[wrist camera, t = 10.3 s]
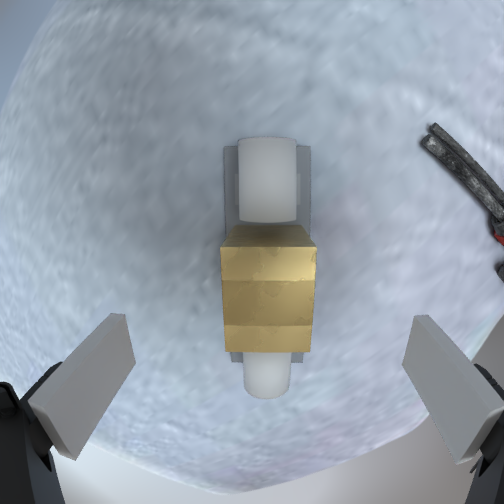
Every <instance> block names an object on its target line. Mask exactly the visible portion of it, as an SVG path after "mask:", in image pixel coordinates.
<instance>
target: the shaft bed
mask: <svg viewBox="0 0 504 504" xmlns="http://www.w3.org/2000/svg"><path fill="white" fill-rule="evenodd" d="M224 172H225V218H226V238H227V236H228V235H229V233H230V232H231V230H232V229H233V227H234V226H235V225H302V226H303V228H304V229H305V231H306V232H307V234H308V235H309V237H310V205H311V154H310V146H296V140H295V139H291V138H283V137H253V138H245V139H240V140H238V146H231V147H224ZM303 354H304V352H288V353H259V352H231V361H232V362H241V363H243V369H244V388H245V390H246V392H247V393H248V394H250V395H251V396H253V397H256V398H259V399H274V398H278V397H280V396H282V395H284V394H285V393H286V392H287V391H288V389H289V385H290V370H291V363H303Z"/></svg>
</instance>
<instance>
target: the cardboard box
mask: <svg viewBox="0 0 504 504" xmlns="http://www.w3.org/2000/svg"><path fill="white" fill-rule="evenodd" d="M316 252H317V247H316V245H315V244H314V242H313V241H312V240H311V238H310V237H309V235H308V234H307V232H306V231H305V229H304V228H303V226H302V225H235V226H234V227H233V229H232V230H231V232H230V233H229V235H228V236H227V238H226V239H225V241H224V242H223V244H222V245H221V247H220V253H221V277H222V298H223V317H224V334H225V350H226V352H259V353H288V352H310V345H311V333H312V321H313V307H314V291H315V274H316Z"/></svg>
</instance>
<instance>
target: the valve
mask: <svg viewBox="0 0 504 504" xmlns="http://www.w3.org/2000/svg"><path fill="white" fill-rule="evenodd" d="M430 130H431V131H432V132H433V133H435V134H436V135H437V136H438V137H439V138H440V139H441V140H442V141H443V142H445V143H446V144H447V145H448V146H449V147H450V148H451V149H452V150H453V151H454V152H455V153H456V154H457V155H458V156H459V157H460V158H461V159H462V160H463V161H464V162H465V163H466V164H467V165H468V166H469V167H470V168H471V169H472V170H473V171H474V172H475V173H476V174H477V175H478V176H479V177H480V178H481V179H482V180H483V182H484V183H485V184H486V185H487V186H488V187H489V188H490V189H491V191H492V192H493V193H494V194H495V195H496V196H497V197H498V199H499V200H500V201H501V202H502V204H499V203H498V202H497V200H496V199H495V198H494V197H493V196H492V195H491V193H490V192H489V191H488V190H487V189H486V188H485V187H484V186H483V185H482V183H481V182H480V181H479V180H478V179H477V178H476V177H475V176H474V175H473V174H472V173H471V172H470V171H469V170H468V169H467V168H466V167H465V166H464V165H463V164H462V163H461V162H460V161H459V160H458V159H457V158H456V157H455V156H454V155H453V154H452V153H451V152H450V151H449V150H448V149H447V148H446V147H445V146H443V145H442V144H441V143H440V142H439V141H438V140H437V139H436V138H435V137H433V136H432V135H431V134H428V135H427V136H426V137H425V138H424V140H423V142H422V144H423V145H424V146H425V147H426V148H427V149H429V150H430V151H431V152H432V153H433V154H434V155H435V156H436V157H438V158H439V159H440V160H441V161H442V162H443V163H444V164H445V165H446V166H447V167H448V168H449V169H451V170H452V171H453V172H454V173H455V174H456V175H457V176H458V177H459V178H460V179H461V180H462V181H463V182H464V183H465V184H466V185H467V186H468V187H469V188H470V189H471V190H472V191H473V192H474V193H475V195H476V196H477V197H478V198H479V199H480V200H481V201H482V202H483V203H484V204H485V205H486V206H487V208H488V209H489V210H490V211H491V212H492V213H493V215H492V218H491V222H492V225H493V227H494V236H495V237H496V238H497V239H498V241H499V242H500V243H501V244H502V245H503V246H504V192H503V191H502V190H501V189H500V188H499V186H498V185H497V184H496V183H495V182H494V180H493V179H492V178H491V177H490V176H489V175H488V174H487V173H486V171H485V170H484V169H483V168H482V167H481V166H480V165H479V164H478V163H477V162H476V161H475V160H474V159H473V158H472V156H471V155H470V154H469V153H468V152H467V151H466V150H465V149H464V148H463V147H462V146H461V145H460V144H459V143H457V142H456V141H455V140H454V139H453V138H452V137H451V136H450V135H449V134H448V133H447V132H446V131H445V130H444V129H442V128H441V127H440V126H439V125H438V124H437V123H436V122H435V123H434V124H433V125H432V126H431V129H430ZM498 276H499V277H500V278H501V280H502V281H503V282H504V266H502V267H501V268H500V270H499V272H498Z"/></svg>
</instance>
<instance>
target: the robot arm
mask: <svg viewBox="0 0 504 504" xmlns="http://www.w3.org/2000/svg"><path fill="white" fill-rule="evenodd" d="M135 364H136V361H135V357H134V353H133V349H132V345H131V340H130V336H129V331H128V327H127V322H126V317H125V314H115V313H111V314H110V315H109V316H108V317H107V318H106V319H105V320H104V321H103V322H102V323H101V324H100V325H99V326H98V327H97V328H96V329H95V330H94V331H93V332H92V333H91V334H90V335H89V336H88V337H87V338H86V339H85V340H84V341H83V342H82V343H81V344H80V345H79V346H78V347H77V348H76V349H75V350H74V351H73V352H72V353H71V354H70V355H69V356H68V357H67V358H66V360H65V361H64V362H59V363H57V364H55V365H53V366H52V367H50V368H49V369H48V370H47V371H46V372H45V373H44V376H42V377H41V378H40V379H39V380H38V382H36V383H35V384H34V385H33V386H32V387H31V388H30V389H29V390H28V392H27V393H26V394H25V395H24V396H23V397H22V398H21V399H20V400H19V398H18V397H17V395H16V393H15V391H14V389H13V387H12V385H11V384H10V383H7V382H0V504H65V501H64V498H63V495H62V491H61V488H60V484H59V481H58V477H57V473H56V469H55V464H54V460H53V456H52V454H51V452H50V448H51V447H52V445H54V446H55V448H56V449H57V451H58V453H59V454H60V455H62V456H65V457H67V458H70V459H72V460H75V461H76V459H77V457H78V456H79V454H80V452H81V451H82V449H83V447H84V446H85V444H86V442H87V441H88V439H89V437H90V436H91V434H92V432H93V431H94V429H95V427H96V426H97V424H98V423H99V421H100V419H101V418H102V416H103V414H104V413H105V411H106V410H107V408H108V406H109V405H110V403H111V401H112V400H113V398H114V397H115V395H116V394H117V392H118V390H119V389H120V387H121V386H122V384H123V382H124V381H125V379H126V378H127V376H128V375H129V373H130V371H131V370H132V368H133V367H134V365H135ZM402 366H403V368H404V369H405V371H406V373H407V374H408V376H409V378H410V380H411V381H412V383H413V385H414V386H415V388H416V390H417V392H418V394H419V395H420V397H421V399H422V401H423V402H424V404H425V406H426V408H427V410H428V412H429V413H430V415H431V417H432V419H433V421H434V423H435V425H436V427H437V428H438V430H439V432H440V434H441V436H442V438H443V440H444V442H445V444H446V446H447V448H448V450H449V452H450V454H451V456H452V458H453V460H454V462H455V464H456V465H458V464H460V463H463V462H466V461H468V460H471V459H472V458H473V457H474V455H475V454H476V453H477V451H478V450H479V448H480V450H481V452H482V456H481V457H480V459H479V460H478V461H477V462H476V464H475V465H474V466H473V468H472V469H471V471H470V473H472V472H473V471H474V470H475V469H476V468H477V469H476V472H475V475H474V478H473V482H472V485H471V488H470V491H469V494H468V497H467V499H466V502H465V504H504V390H503V389H502V388H501V387H500V385H497V382H496V381H495V379H492V376H491V375H490V374H489V373H488V371H487V370H486V369H484V368H483V367H481V366H480V365H478V364H472V362H471V361H470V360H469V359H468V358H467V357H466V355H465V354H464V353H463V352H462V351H461V350H460V349H459V348H458V347H457V345H456V344H455V343H454V342H453V341H452V340H451V339H450V338H449V337H448V336H447V334H446V333H445V332H444V331H443V330H442V329H441V328H440V327H439V326H438V325H437V324H436V323H435V322H434V321H433V319H432V318H431V317H430V316H429V315H417V316H414V319H413V324H412V328H411V332H410V336H409V340H408V344H407V348H406V352H405V356H404V359H403V363H402Z"/></svg>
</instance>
